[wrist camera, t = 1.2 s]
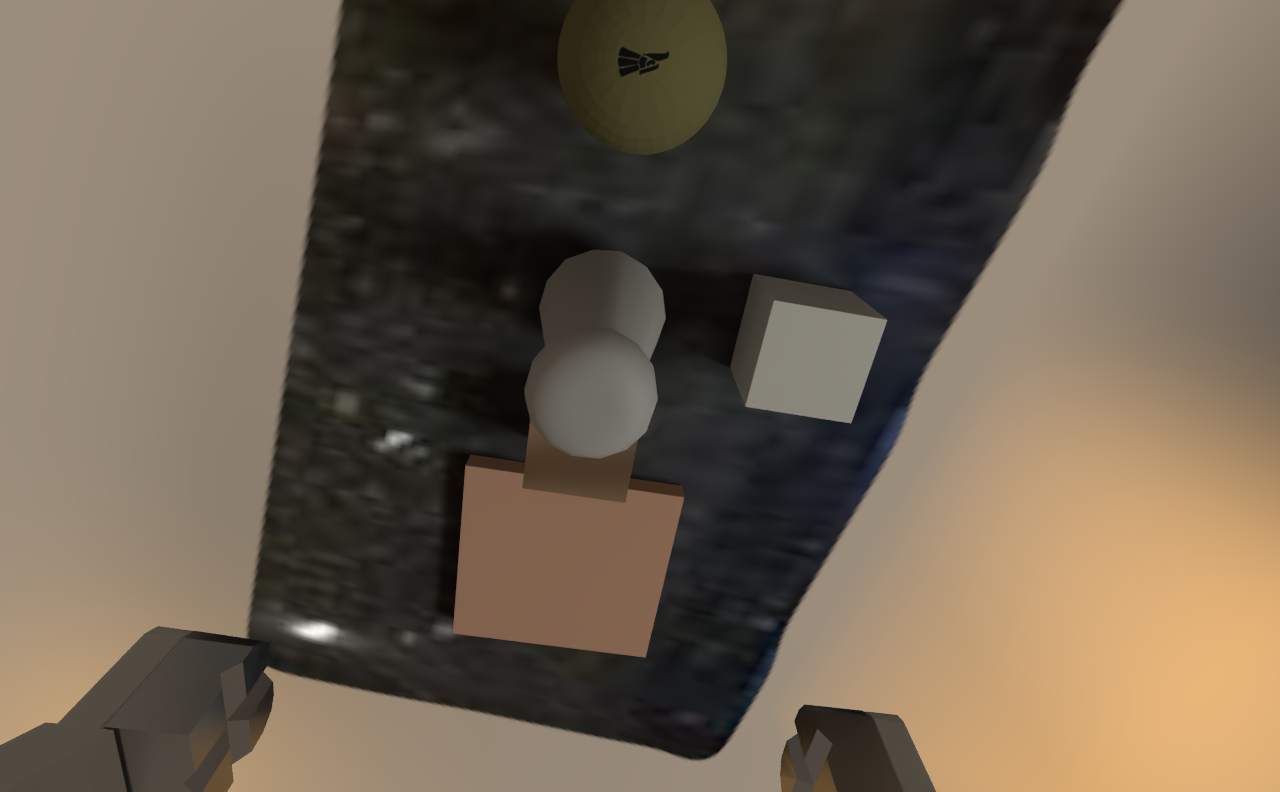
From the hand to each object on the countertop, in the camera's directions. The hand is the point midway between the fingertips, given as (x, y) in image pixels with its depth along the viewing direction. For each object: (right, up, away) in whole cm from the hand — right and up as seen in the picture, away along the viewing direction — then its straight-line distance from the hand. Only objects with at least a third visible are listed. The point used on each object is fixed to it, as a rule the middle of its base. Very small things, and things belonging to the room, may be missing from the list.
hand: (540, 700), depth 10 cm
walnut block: (-1, +4, +24) cm, 25 cm away
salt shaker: (0, +10, +22) cm, 24 cm away
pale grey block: (+9, +8, +22) cm, 26 cm away
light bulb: (+2, +19, +18) cm, 26 cm away
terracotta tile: (-3, -5, +28) cm, 28 cm away
